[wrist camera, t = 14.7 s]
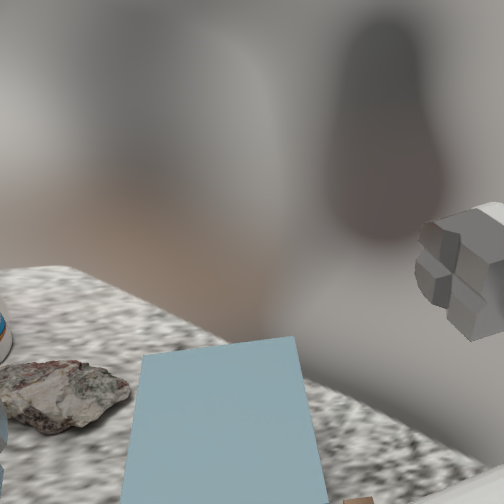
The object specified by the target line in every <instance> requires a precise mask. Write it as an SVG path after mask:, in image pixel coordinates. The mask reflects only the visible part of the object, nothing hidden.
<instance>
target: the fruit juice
mask: <svg viewBox="0 0 504 504" xmlns="http://www.w3.org/2000/svg"><path fill="white" fill-rule="evenodd" d="M11 346H12V335H11V332H10V329H9V327H8V325H7V323H6V322H5V320H4V318H3V316H2V315H1V313H0V363H1V362H2V361H3V360H4V359H5V357H6V356H7V354H8V353H9V351H10V349H11Z"/></svg>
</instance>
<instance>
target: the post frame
mask: <svg viewBox="0 0 504 504" xmlns="http://www.w3.org/2000/svg"><path fill="white" fill-rule="evenodd" d="M343 504H374V502H373V498H372V497H365V498H357V499H349V500H343Z"/></svg>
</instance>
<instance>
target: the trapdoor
mask: <svg viewBox="0 0 504 504" xmlns="http://www.w3.org/2000/svg"><path fill="white" fill-rule="evenodd" d="M120 504H329V500H328V495H327V490H326V486H325V481H324V476H323V472H322V467H321V462H320V457H319V453H318V448H317V443H316V438H315V434H314V429H313V424H312V420H311V415H310V410H309V405H308V401H307V396H306V391H305V386H304V382H303V377H302V372H301V368H300V363H299V358H298V354H297V349H296V344H295V339H294V336H289V337H282V338H274V339H267V340H259V341H251V342H243V343H236V344H228V345H220V346H212V347H205V348H197V349H189V350H182V351H174V352H166V353H159V354H151V355H143V360H142V367H141V373H140V379H139V385H138V392H137V398H136V404H135V410H134V417H133V423H132V429H131V435H130V441H129V448H128V454H127V460H126V466H125V473H124V479H123V485H122V491H121V497H120Z"/></svg>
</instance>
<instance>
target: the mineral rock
mask: <svg viewBox="0 0 504 504" xmlns="http://www.w3.org/2000/svg"><path fill="white" fill-rule="evenodd" d="M130 392H131V388H130V386H129V384H128V383H127V382H126V381H124V380H123V379H120V378H117V377H114V376H112V375H111V373H108V370H107V369H104V368H100V367H99V368H96V367H90V366H89V363H81V362H79V361H76V360H74V361H73V360H70V361H49V362H46V363H39V364H38V363H36V362H34V363H27V364H20V365H5V366H3V367H1V368H0V398H1V399H2V402H3V405H4V407H5V410H6V414H7V419H12V418H15V419H16V420H18V421H19V422H21V423H24V424H27V425H32V426H34V427H35V428H36V429H37V430H38V431H40V432H42V433H45V434H55V433H59V432H63V431H64V430H66V429H67V428H69V427H70V426H76V427H84V426H85V425H87V424H88V423H89V422H93V421H95V420H97V419H98V418H99V417H100V416H101V415H102V414H103V412H104V411H105V410H106V409H108V408H109V407H112V406H113V405H115V404H116V403H117V402H119V401H122V400H125V399H126V398H127V397H128V395H129V393H130Z"/></svg>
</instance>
